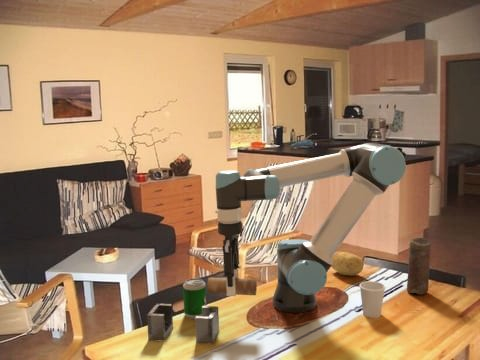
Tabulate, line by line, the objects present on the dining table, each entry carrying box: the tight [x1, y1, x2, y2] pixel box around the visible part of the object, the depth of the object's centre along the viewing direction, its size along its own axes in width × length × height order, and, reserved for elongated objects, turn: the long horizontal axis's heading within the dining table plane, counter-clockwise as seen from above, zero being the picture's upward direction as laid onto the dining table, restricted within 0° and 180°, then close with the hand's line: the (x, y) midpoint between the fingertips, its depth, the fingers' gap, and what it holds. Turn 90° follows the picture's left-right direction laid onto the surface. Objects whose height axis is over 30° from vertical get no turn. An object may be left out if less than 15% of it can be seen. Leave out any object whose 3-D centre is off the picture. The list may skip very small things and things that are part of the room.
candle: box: [406, 237, 432, 295], centre depth 182 cm, size 8×7×20 cm
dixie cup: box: [359, 280, 387, 319], centre depth 166 cm, size 8×8×10 cm
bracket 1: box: [146, 303, 174, 342], centre depth 155 cm, size 5×9×8 cm, turn 170°
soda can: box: [182, 278, 207, 320], centre depth 168 cm, size 8×8×12 cm
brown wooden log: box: [206, 277, 258, 296], centre depth 158 cm, size 15×5×5 cm, turn 80°
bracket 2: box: [194, 305, 220, 345], centre depth 152 cm, size 5×9×8 cm, turn 170°
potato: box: [330, 251, 365, 277], centre depth 204 cm, size 10×14×10 cm
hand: (233, 292), depth 159 cm, fingers closed on brown wooden log, 5 cm apart
